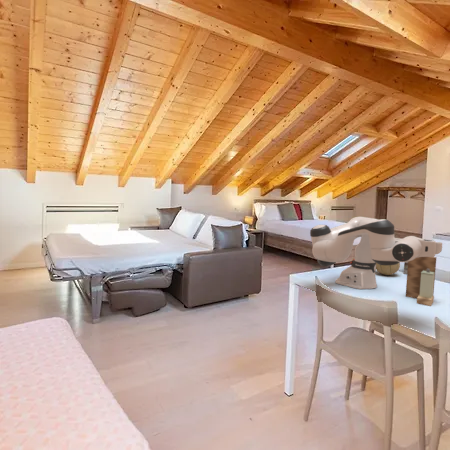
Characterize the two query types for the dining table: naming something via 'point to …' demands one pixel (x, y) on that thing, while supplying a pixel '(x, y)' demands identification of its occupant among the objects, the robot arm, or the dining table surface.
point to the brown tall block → (419, 278)
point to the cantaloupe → (387, 269)
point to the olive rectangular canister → (427, 283)
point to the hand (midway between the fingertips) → (417, 242)
